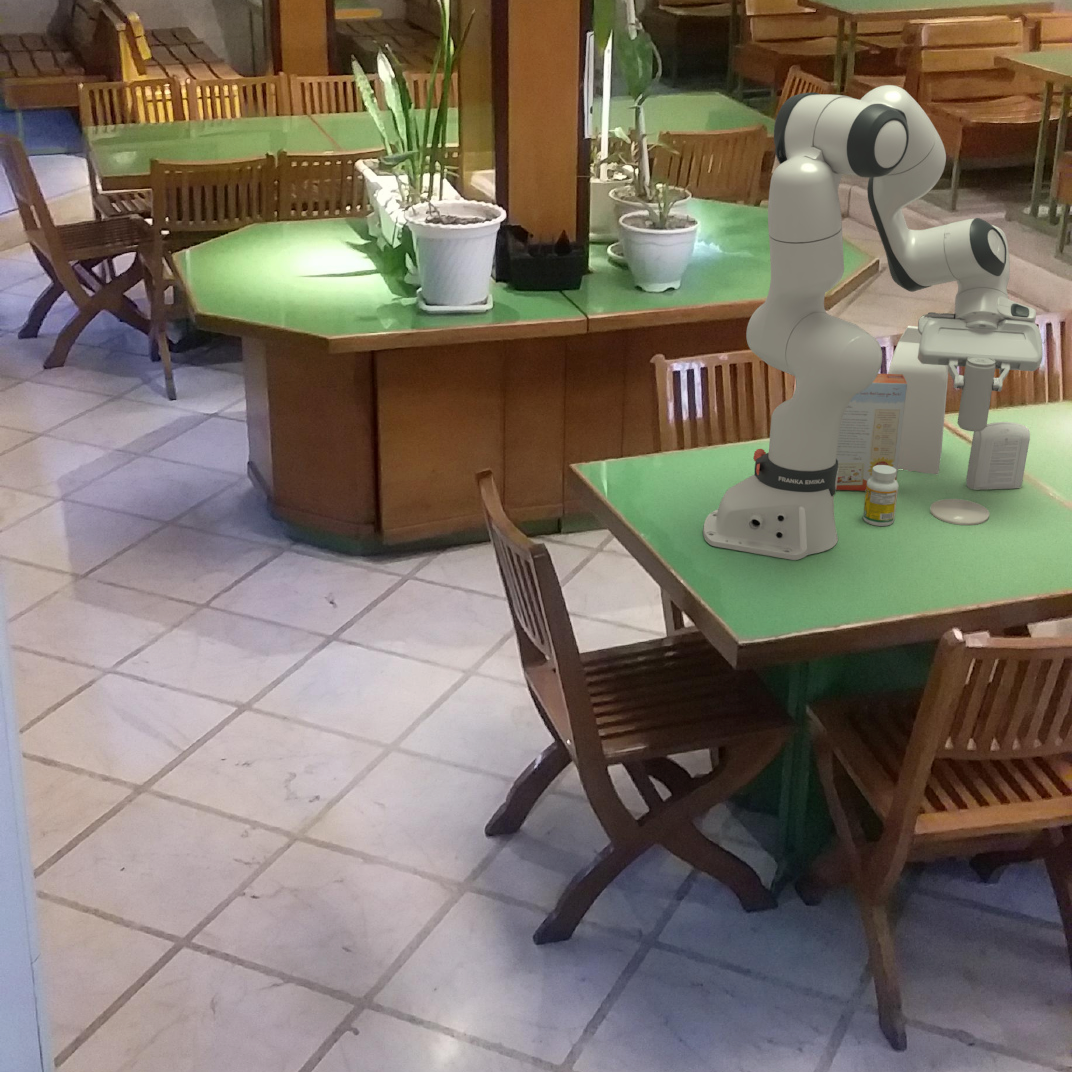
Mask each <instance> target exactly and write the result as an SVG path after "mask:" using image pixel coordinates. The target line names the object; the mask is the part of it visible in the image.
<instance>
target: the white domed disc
mask: <svg viewBox="0 0 1072 1072" xmlns="http://www.w3.org/2000/svg"><path fill="white" fill-rule="evenodd" d="M929 512H930V513H929V514H931V516H933V517H934V518H935V519H937V520H940V521H941V522H945V523H948V524H952V525H959V526H975V525H981V524H984V523H986V522H987V521H988V520H989V518H990V511H989V509H988V508H987V507H985V506H984V505H982V504H979V503H977V502H974V501H971V500H966V499H960V498H944V499H939V500H935V501H934V502H932V503H931V505H930V507H929Z"/></svg>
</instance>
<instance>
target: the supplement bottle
mask: <svg viewBox="0 0 1072 1072" xmlns="http://www.w3.org/2000/svg"><path fill="white" fill-rule="evenodd" d="M872 476H873V477H871V478H870V479H869V480H868V481H867V486H866V491H865V496H864V506H863V513H862V518H863V519H862V520H863V521H864V522H865V523H867V524H869V525H872V526H876V527H885V526H886V527H887V526H890V525H892V524H893V523H894V521H895V518H896V517H895V515H896V510H897V509H896V508H897V501H898V494H899V493H898V492H899V483H898V481H897V480H895V477H896V469H895V468H894V467H891V466H887V465H876V466H874V467H873V469H872Z"/></svg>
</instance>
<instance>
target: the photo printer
mask: <svg viewBox="0 0 1072 1072" xmlns="http://www.w3.org/2000/svg"><path fill="white" fill-rule="evenodd" d="M1030 440H1031V432H1030V428H1029V427H1027V426H1026V425H1024V424H1021V423H1017V422H1011V421H996V422H989V423H987V426H986V428H985V429H983V430H982V431H976V432H974V431H973V434H972V440H971V447H970V454H969V458H968V465H967V473H966V479H965V481H966V482H965V484H966V486H967V488H968V489H970V490H1002V489H1003V490H1004V489H1006V490H1010V489H1020V488H1021V487H1022V485H1023V479H1024V474H1025V468H1026V462H1027V457H1028V450H1029V445H1030Z"/></svg>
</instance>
